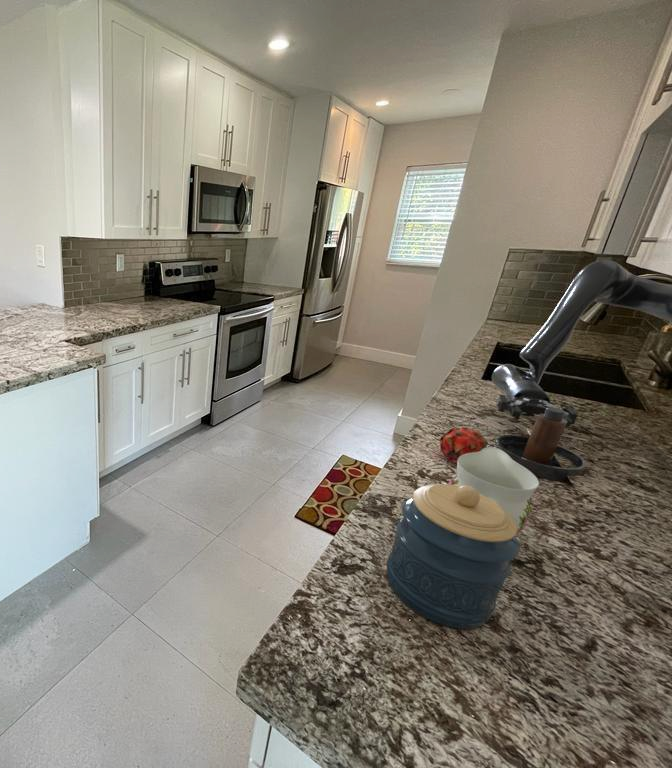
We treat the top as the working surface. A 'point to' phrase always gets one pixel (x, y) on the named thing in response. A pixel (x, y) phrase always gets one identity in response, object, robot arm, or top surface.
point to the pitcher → (498, 481)
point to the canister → (452, 555)
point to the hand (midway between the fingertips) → (541, 419)
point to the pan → (554, 471)
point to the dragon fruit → (461, 443)
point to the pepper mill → (545, 436)
